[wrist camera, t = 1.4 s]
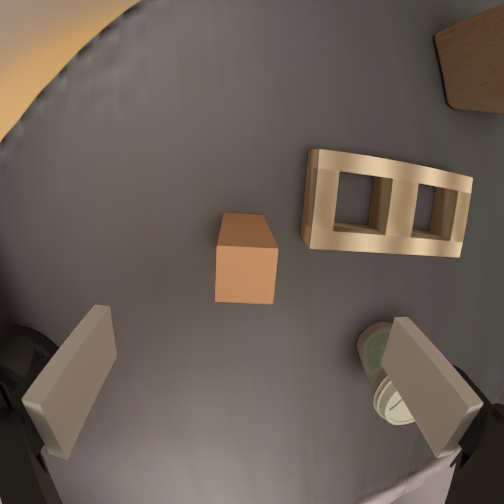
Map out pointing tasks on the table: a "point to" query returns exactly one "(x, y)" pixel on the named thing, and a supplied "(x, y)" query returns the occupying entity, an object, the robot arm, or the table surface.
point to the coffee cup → (381, 374)
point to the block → (474, 62)
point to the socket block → (384, 206)
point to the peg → (245, 260)
